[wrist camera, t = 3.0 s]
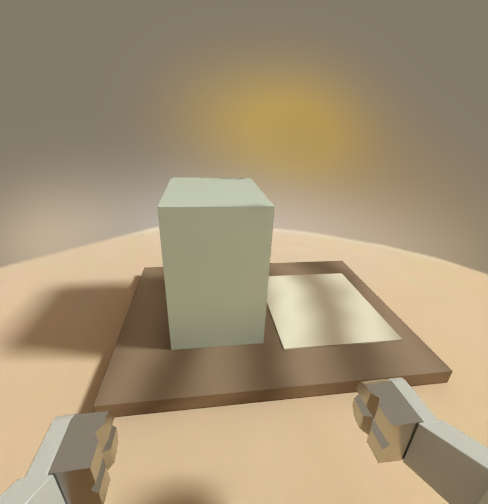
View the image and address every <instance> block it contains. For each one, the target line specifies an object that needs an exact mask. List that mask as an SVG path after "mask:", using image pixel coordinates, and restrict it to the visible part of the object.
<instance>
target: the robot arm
mask: <svg viewBox="0 0 488 504" xmlns="http://www.w3.org/2000/svg"><path fill="white" fill-rule="evenodd" d="M356 390H357V391H358V393H359V394H358V395H357V396H356V397H355V398H354V401H353V413H354V416H355V419H356V422H357V424H358V426H359V428H360V429H361V430H363V431H364V432H365V433H366V434H368V437H367V443H368V445H369V446H370V448H371V450H372V452H373V454H374V456H375V458H376V460H377V461H378V463H383V462H391V461H399V460H403V462H404V463H405V464H406V465H407V466H408V467H409V468H411V469H412V470H413V471H414V472H415V473H416V474H417V475H418V476H419V477H421V478H422V479H423V480H424V481H425V482H426V483H427V484H428V485H429V486H431V487H432V488H433V489H434V490H435V491H436V492H437V493H438V494H439V495H440V496H442V497H443V498H444V499H445V500H446V501H447V502H448V503H449V504H488V448H487V447H485V446H484V445H482V444H480V443H479V442H477V441H475V440H474V439H472V438H471V437H469V436H467V435H466V434H464V433H463V432H461V431H459V430H458V429H456V428H454V427H453V426H451V425H450V424H448V423H446V422H445V421H443V420H437V418H436V417H435V416H434V415H433V414H432V412H431V411H430V410H429V409H428V407H427V406H426V405H425V404H424V402H423V401H422V400H421V399H420V398H419V396H418V395H417V394H416V393H415V391H414V390H413V389H412V388H411V386H410V385H409V384H408V383H407V382H406V380H404V379H403V378H401V377H400V378H391V379H379V380H372V381H364V382H360V383H359V384H358V386H357V389H356ZM113 420H114V417H113V413H112V411H105V412H94V413H83V414H72V415H62V416H57V417H56V418H55V419H54V420H53V421H52V423H51V425H50V427H49V429H48V431H47V433H46V435H45V437H44V439H43V441H42V443H41V445H40V447H39V449H38V451H37V453H36V455H35V457H34V459H33V461H32V464H31V466H30V468H29V470H28V472H27V474H26V476H25V478H22V479H18V480H17V481H16V482H15V483H14V484H13V485H12V486H11V487H10V488H8V489H7V490H6V491H5V492H4V493H3V494H2V495H1V496H0V504H104V502H105V498H106V494H107V490H108V486H109V482H110V477H109V473H108V469H109V468H110V467H111V466H112V465H113V463H114V462H115V457H116V453H117V445H118V433H117V428H116V427H115V426H113V425H112V423H113Z"/></svg>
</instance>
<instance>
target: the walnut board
mask: <svg viewBox="0 0 488 504" xmlns="http://www.w3.org/2000/svg"><path fill="white" fill-rule="evenodd" d="M451 373H452V370H451V369H450V368H449V367H448V366H447V365H446V364H445V363H444V362H443V361H442V360H441V359H440V358H439V357H438V356H437V355H436V354H435V353H434V352H433V351H432V350H431V349H430V348H429V347H428V346H427V345H426V344H425V343H424V342H423V341H422V340H421V339H420V338H419V337H418V336H417V335H416V334H415V333H414V332H413V331H412V330H411V329H410V328H409V327H408V326H407V325H406V324H405V323H404V322H403V321H402V320H401V319H400V318H399V317H398V316H397V315H396V314H395V313H394V312H393V311H392V310H391V309H390V308H389V307H388V306H387V305H386V304H385V303H384V302H383V301H382V300H381V299H380V298H379V297H378V296H377V295H376V294H375V293H374V292H373V291H372V290H371V289H370V288H369V287H368V286H367V285H366V284H365V283H364V282H363V281H362V280H361V279H360V278H359V277H358V276H357V275H356V274H355V273H354V272H353V271H352V270H351V269H350V268H349V267H348V266H347V265H346V264H345V263H344V262H343V261H324V262H295V263H270V268H269V280H268V292H267V304H266V317H265V329H264V341H263V343H257V344H244V345H230V346H217V347H204V348H190V349H177V350H171V342H170V332H169V321H168V311H167V301H166V290H165V280H164V269H163V267H150V268H144V270H143V273H142V276H141V278H140V281H139V284H138V287H137V289H136V292H135V295H134V297H133V300H132V303H131V305H130V308H129V311H128V314H127V316H126V319H125V322H124V324H123V327H122V330H121V332H120V335H119V338H118V341H117V343H116V346H115V349H114V351H113V354H112V357H111V359H110V362H109V365H108V368H107V370H106V373H105V376H104V378H103V381H102V384H101V386H100V389H99V392H98V394H97V397H96V400H95V403H94V405H93V408H94V412H105V411H112V413H113V417H117V416H127V415H136V414H146V413H155V412H165V411H175V410H184V409H194V408H203V407H213V406H222V405H232V404H242V403H251V402H261V401H270V400H280V399H290V398H299V397H309V396H318V395H328V394H337V393H347V392H357V390H356V389H357V386H358V384H359V383H360V382H364V381H372V380H379V379H391V378H400V377H401V378H403V379H404V380H406V382H407V383H408V384H409V385H410V386H414V385H424V384H433V383H443V382H448V380H449V378H450V375H451Z"/></svg>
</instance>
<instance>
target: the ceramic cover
mask: <svg viewBox="0 0 488 504" xmlns="http://www.w3.org/2000/svg"><path fill="white" fill-rule="evenodd" d="M158 217H159V228H160V238H161V249H162V259H163V269H164V280H165V290H166V301H167V311H168V321H169V332H170V342H171V350H177V349H190V348H204V347H217V346H230V345H244V344H257V343H263V341H264V329H265V317H266V304H267V292H268V280H269V268H270V255H271V243H272V231H273V218H274V205H273V204H272V203H271V202H270V200H269V199H268V198H267V197H266V196H265V195H264V194H263V192H262V191H261V190H260V189H259V188H258V186H257V185H256V184H255V183H254V182H253V181H252V179H251V178H171V180H170V182H169V184H168V186H167V188H166V190H165V192H164V195H163V197H162V199H161V201H160V203H159V205H158Z"/></svg>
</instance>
